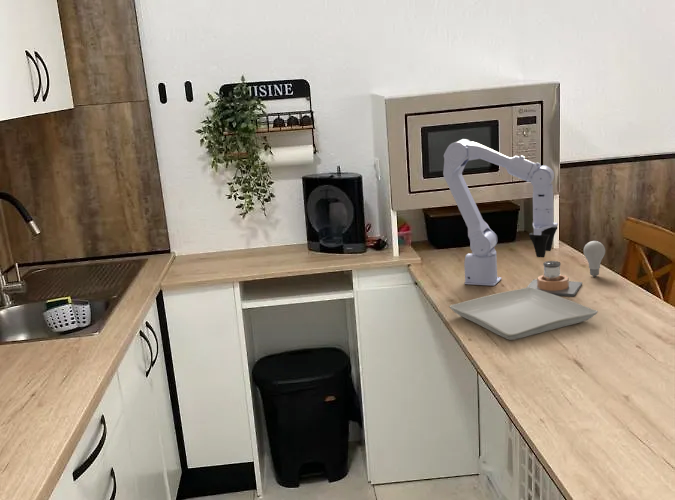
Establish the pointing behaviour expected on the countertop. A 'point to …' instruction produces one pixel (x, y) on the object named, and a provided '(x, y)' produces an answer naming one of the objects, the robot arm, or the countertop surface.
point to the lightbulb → (594, 256)
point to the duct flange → (556, 286)
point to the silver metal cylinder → (551, 271)
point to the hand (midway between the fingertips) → (543, 253)
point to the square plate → (522, 312)
